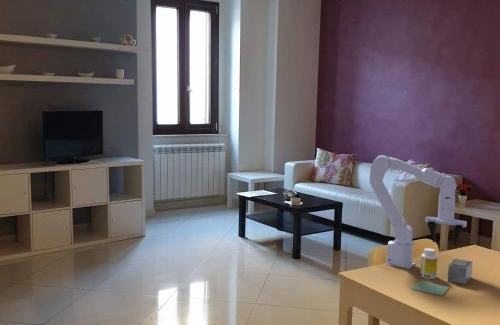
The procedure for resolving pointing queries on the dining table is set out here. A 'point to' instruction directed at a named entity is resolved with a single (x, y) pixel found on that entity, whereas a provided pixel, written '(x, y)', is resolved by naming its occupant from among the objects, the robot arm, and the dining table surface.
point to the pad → (430, 288)
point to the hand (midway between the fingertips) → (444, 243)
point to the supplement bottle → (428, 264)
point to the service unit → (460, 271)
